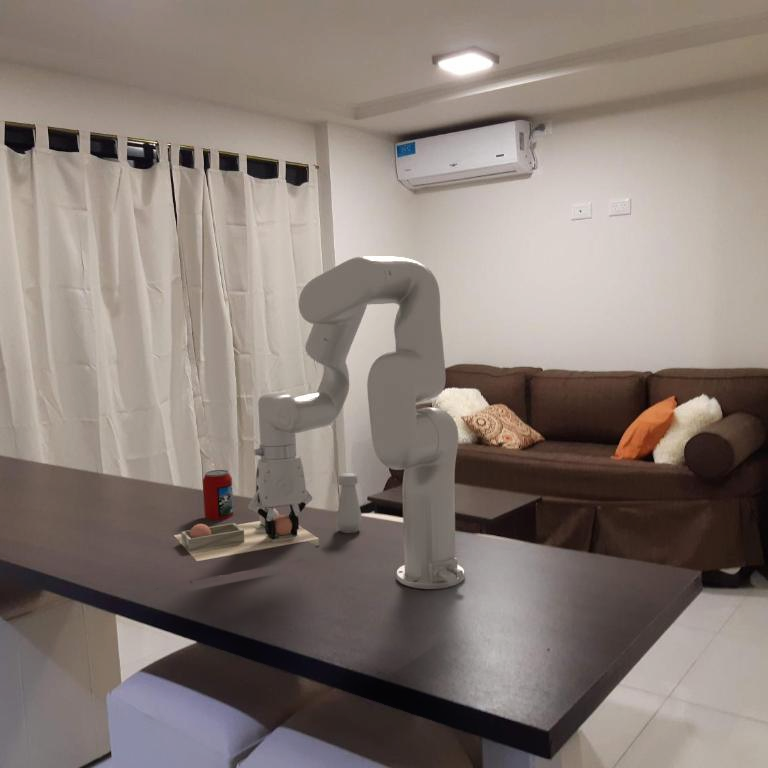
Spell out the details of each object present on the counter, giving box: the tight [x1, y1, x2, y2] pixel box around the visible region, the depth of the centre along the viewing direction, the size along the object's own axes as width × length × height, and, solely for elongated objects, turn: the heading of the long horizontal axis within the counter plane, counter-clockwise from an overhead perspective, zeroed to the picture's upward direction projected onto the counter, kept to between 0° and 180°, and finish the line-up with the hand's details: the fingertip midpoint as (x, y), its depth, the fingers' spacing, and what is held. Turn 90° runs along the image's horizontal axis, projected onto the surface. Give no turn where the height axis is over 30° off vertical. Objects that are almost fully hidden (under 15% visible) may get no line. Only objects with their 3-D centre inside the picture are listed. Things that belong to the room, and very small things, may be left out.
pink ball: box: [190, 523, 211, 538], centre depth 161 cm, size 4×4×4 cm
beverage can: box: [202, 469, 235, 521], centre depth 183 cm, size 7×7×12 cm
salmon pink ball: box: [274, 514, 292, 536], centre depth 165 cm, size 4×4×4 cm
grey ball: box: [259, 508, 280, 526], centre depth 173 cm, size 4×4×4 cm
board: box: [173, 520, 320, 562], centre depth 166 cm, size 20×26×4 cm
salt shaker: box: [335, 472, 363, 534], centre depth 173 cm, size 6×6×13 cm
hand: (282, 534), depth 166 cm, fingers closed on salmon pink ball, 4 cm apart
